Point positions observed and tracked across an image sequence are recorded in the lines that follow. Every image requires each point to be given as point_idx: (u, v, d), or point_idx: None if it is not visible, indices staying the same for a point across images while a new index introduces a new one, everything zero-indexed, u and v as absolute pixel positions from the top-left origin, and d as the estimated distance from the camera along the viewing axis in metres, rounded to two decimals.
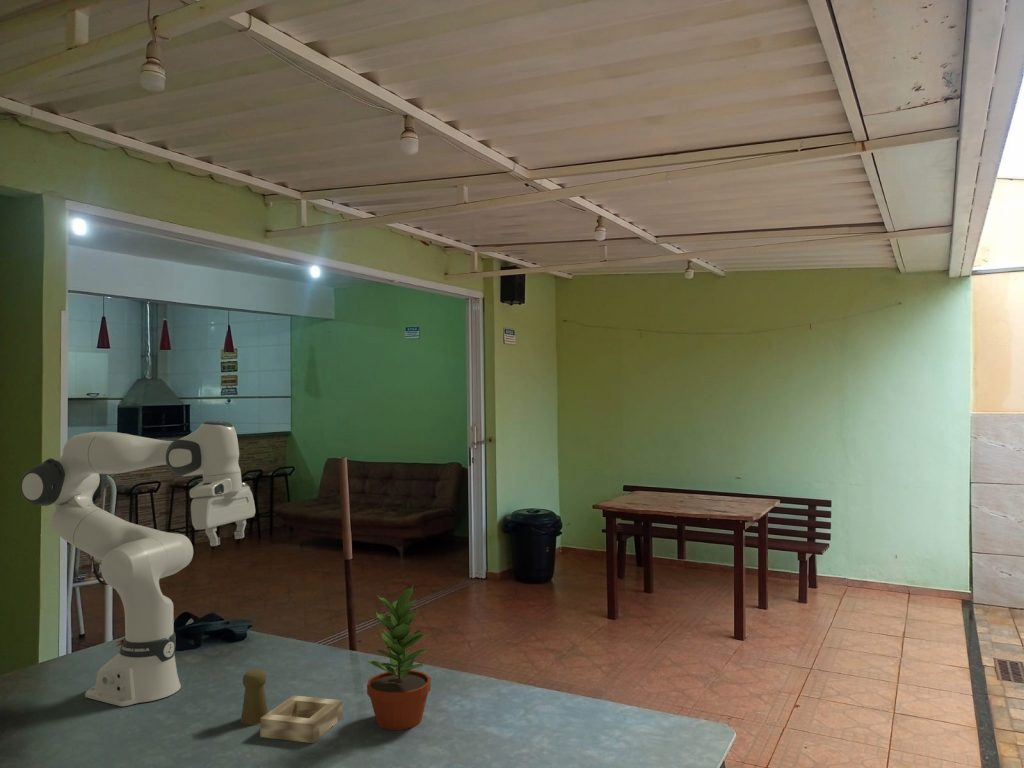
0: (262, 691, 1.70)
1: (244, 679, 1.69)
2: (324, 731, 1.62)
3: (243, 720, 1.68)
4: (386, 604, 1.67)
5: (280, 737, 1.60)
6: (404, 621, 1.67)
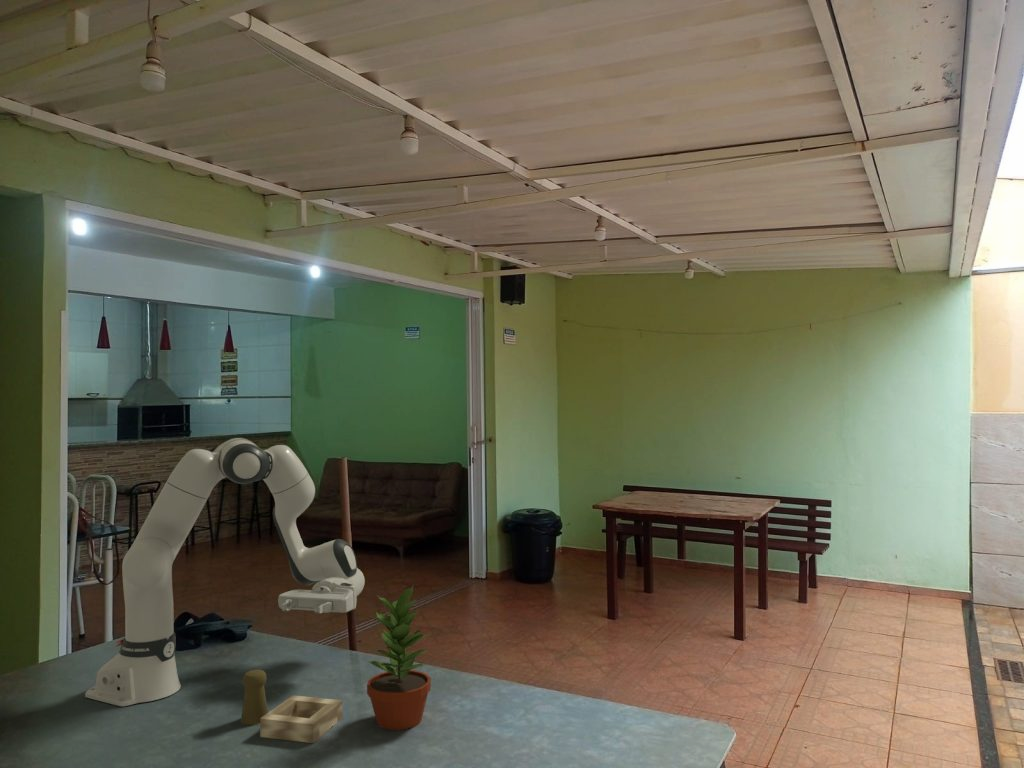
0: (262, 691, 1.70)
1: (244, 679, 1.69)
2: (324, 731, 1.62)
3: (243, 720, 1.68)
4: (386, 604, 1.67)
5: (280, 737, 1.60)
6: (404, 621, 1.67)
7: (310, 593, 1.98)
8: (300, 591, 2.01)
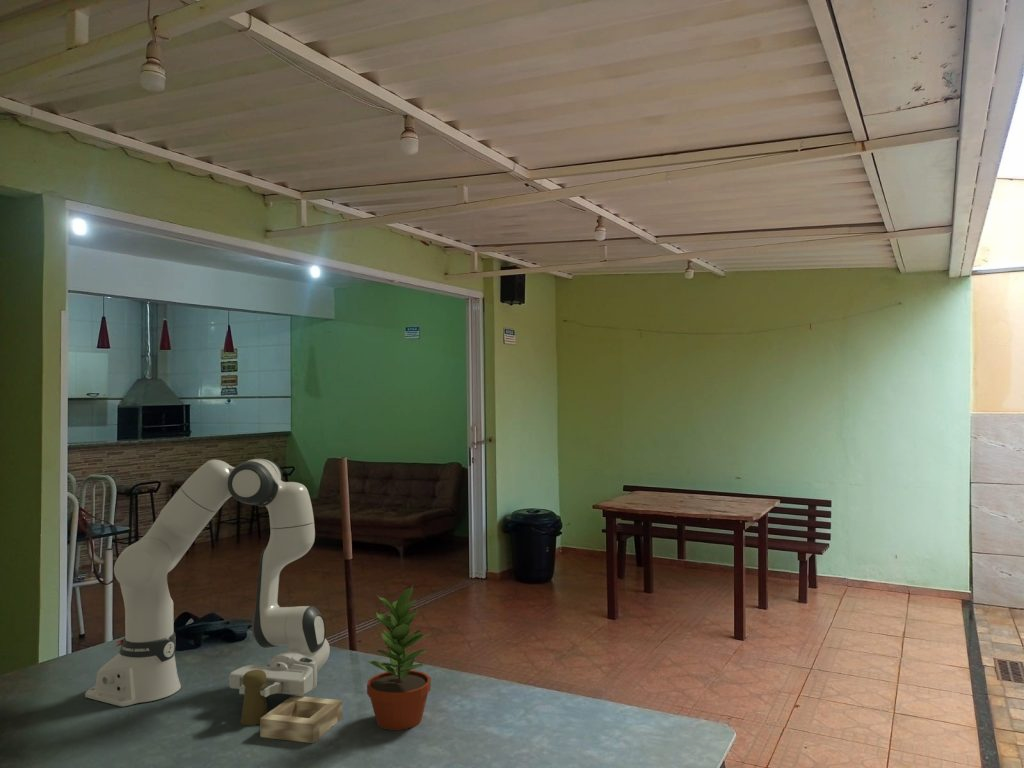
0: None
1: (244, 679, 1.69)
2: (324, 731, 1.62)
3: (243, 720, 1.68)
4: (386, 604, 1.67)
5: (280, 737, 1.60)
6: (404, 621, 1.67)
7: (265, 671, 1.78)
8: (255, 667, 1.81)
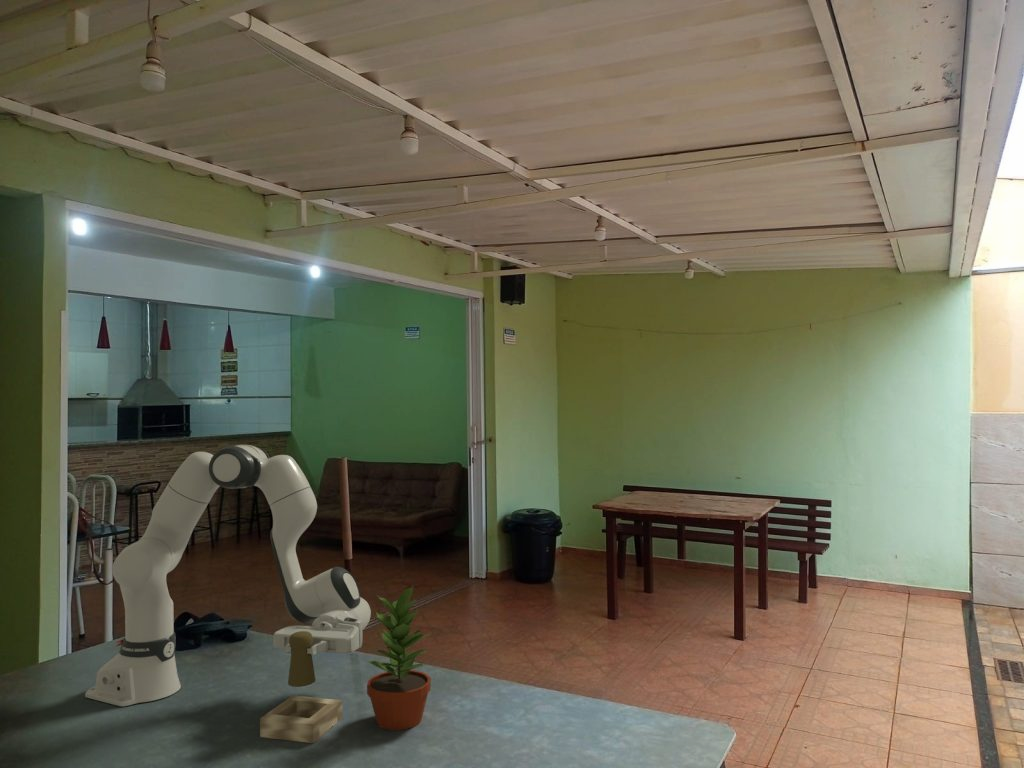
0: None
1: (291, 640, 1.65)
2: (324, 731, 1.62)
3: (291, 682, 1.64)
4: (386, 604, 1.67)
5: (280, 737, 1.60)
6: (404, 621, 1.67)
7: (310, 630, 1.74)
8: (298, 627, 1.77)
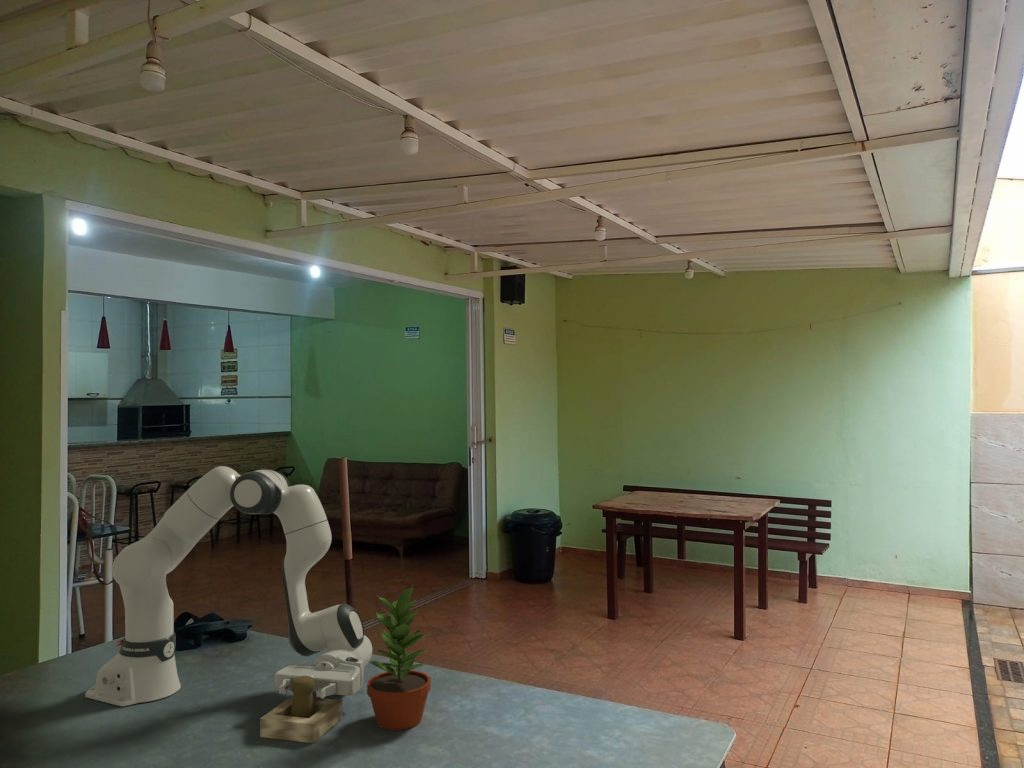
0: (311, 697, 1.66)
1: (293, 685, 1.64)
2: (324, 731, 1.62)
3: None
4: (386, 604, 1.67)
5: (280, 737, 1.60)
6: (404, 621, 1.67)
7: (311, 670, 1.74)
8: (299, 667, 1.76)
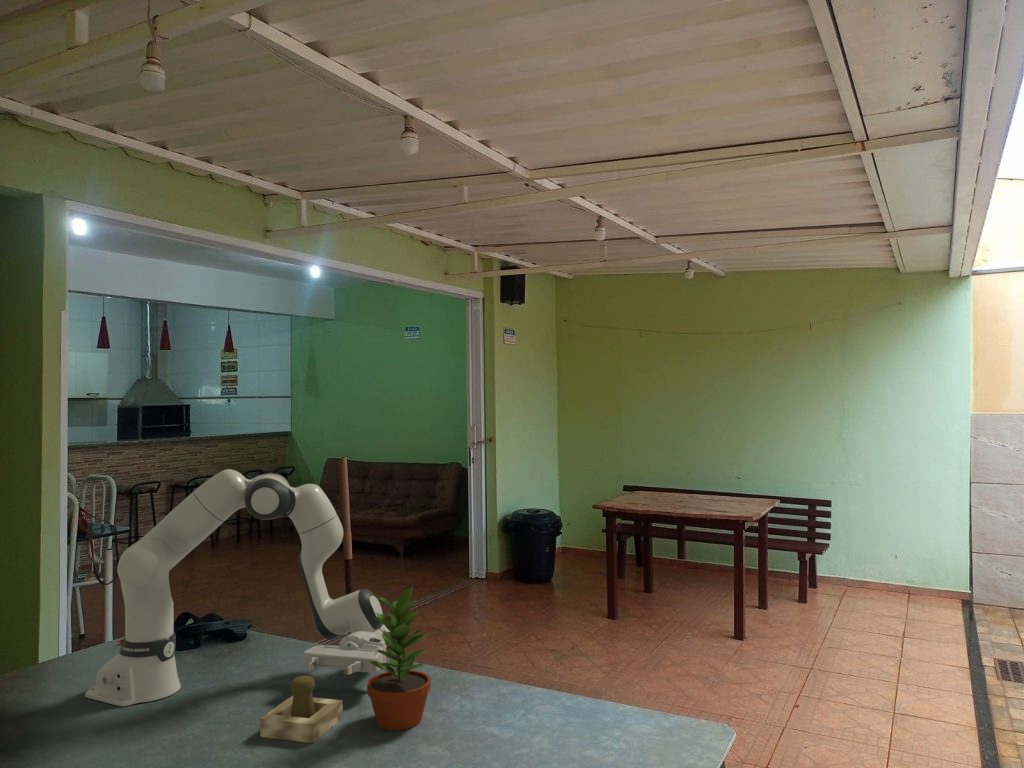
0: (311, 697, 1.66)
1: (293, 685, 1.64)
2: (324, 731, 1.62)
3: None
4: (386, 604, 1.67)
5: (280, 737, 1.60)
6: (404, 621, 1.67)
7: (337, 650, 1.86)
8: (326, 647, 1.89)
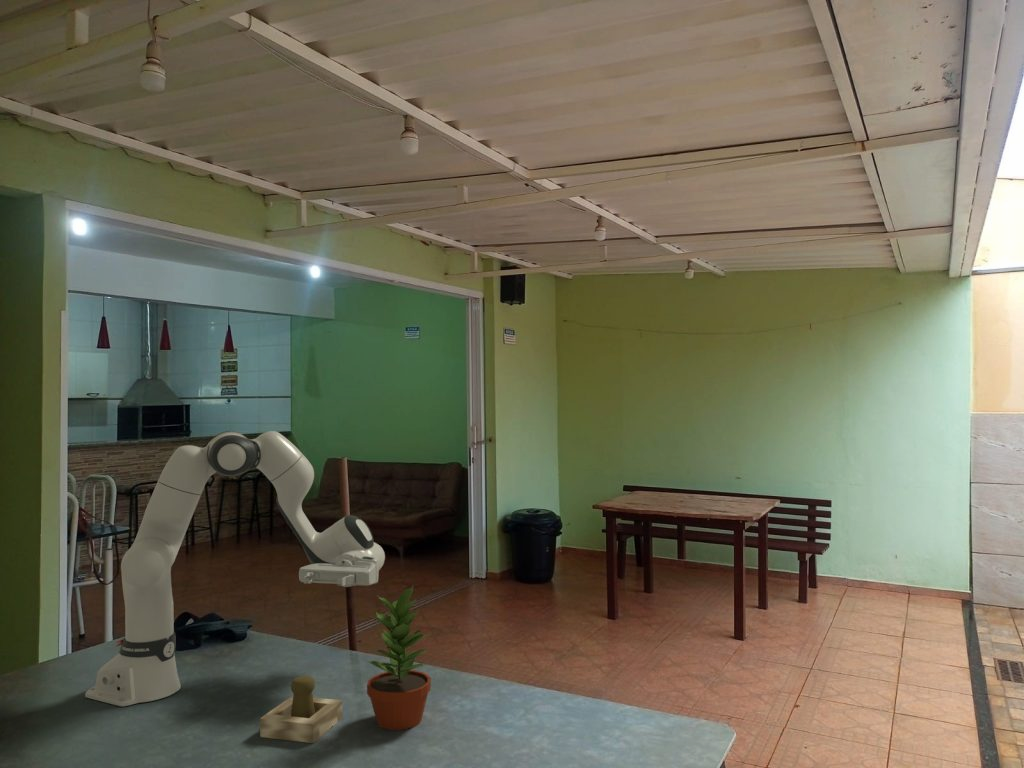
0: (311, 697, 1.66)
1: (293, 685, 1.64)
2: (324, 731, 1.62)
3: None
4: (386, 604, 1.67)
5: (280, 737, 1.60)
6: (404, 621, 1.67)
7: (331, 566, 1.94)
8: (321, 565, 1.97)
